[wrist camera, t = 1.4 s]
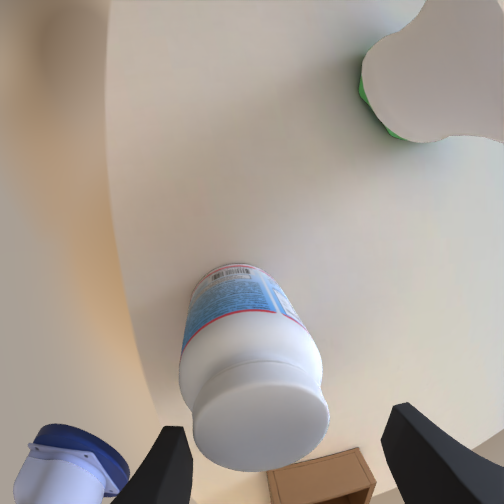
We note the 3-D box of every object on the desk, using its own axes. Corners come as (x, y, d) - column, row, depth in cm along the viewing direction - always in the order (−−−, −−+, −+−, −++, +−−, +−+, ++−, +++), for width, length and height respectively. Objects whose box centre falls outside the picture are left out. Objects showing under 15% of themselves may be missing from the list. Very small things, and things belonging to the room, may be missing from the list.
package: (272, 508, 26) (279, 541, 21) (266, 468, 24) (274, 509, 19) (349, 490, 27) (362, 520, 22) (358, 447, 25) (376, 481, 20)
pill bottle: (180, 335, 20) (156, 469, 9) (205, 249, 19) (192, 339, 8) (265, 356, 21) (305, 486, 10) (297, 276, 20) (380, 376, 9)
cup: (392, 6, 16) (510, -76, 2) (473, 117, 19) (614, 107, 5) (293, 70, 17) (420, -75, 3) (398, 201, 19) (584, 241, 6)
